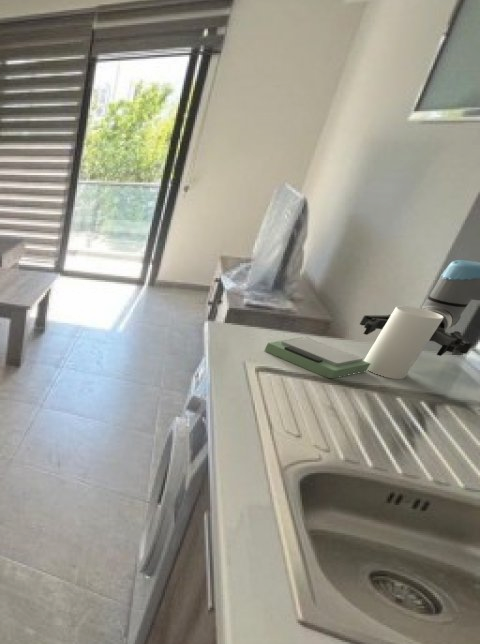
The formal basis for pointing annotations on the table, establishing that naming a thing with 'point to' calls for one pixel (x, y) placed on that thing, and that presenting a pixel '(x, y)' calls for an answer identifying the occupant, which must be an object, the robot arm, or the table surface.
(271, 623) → the table surface
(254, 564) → the table surface
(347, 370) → the scale
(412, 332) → the cup
